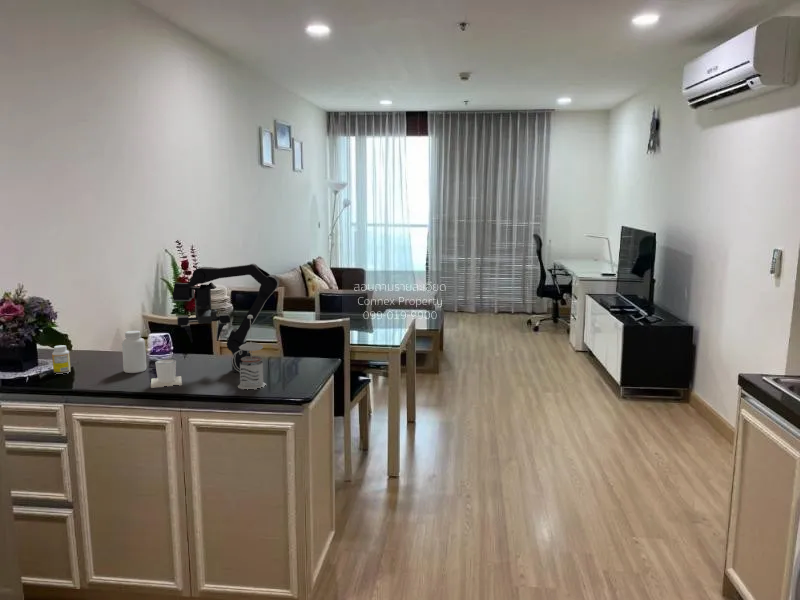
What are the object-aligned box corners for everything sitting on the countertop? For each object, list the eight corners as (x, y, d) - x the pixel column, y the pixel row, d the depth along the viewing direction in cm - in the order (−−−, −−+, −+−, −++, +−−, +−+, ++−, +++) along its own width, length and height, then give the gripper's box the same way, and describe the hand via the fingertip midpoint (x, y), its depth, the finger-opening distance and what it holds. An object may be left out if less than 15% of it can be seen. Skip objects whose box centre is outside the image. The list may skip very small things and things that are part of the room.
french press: (259, 390, 205) (257, 317, 201) (227, 388, 207) (225, 316, 203) (270, 382, 214) (269, 313, 211) (240, 380, 216) (238, 311, 213)
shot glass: (181, 379, 215) (180, 360, 214) (166, 384, 208) (165, 364, 207) (166, 377, 217) (165, 358, 216) (151, 381, 211) (150, 362, 210)
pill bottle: (118, 372, 226) (116, 332, 224) (135, 367, 234) (133, 329, 231) (134, 374, 223) (132, 334, 221) (151, 369, 231) (149, 330, 228)
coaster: (181, 377, 219) (181, 375, 219) (181, 385, 210) (181, 383, 210) (151, 380, 216) (151, 378, 216) (150, 387, 207) (150, 385, 206)
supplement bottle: (59, 371, 227) (57, 344, 226) (73, 371, 227) (72, 344, 225) (50, 374, 222) (48, 347, 220) (64, 375, 221) (62, 348, 220)
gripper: (176, 305, 215) (178, 348, 218) (231, 302, 222) (232, 344, 224) (176, 300, 226) (178, 341, 228) (228, 298, 232) (229, 338, 235)
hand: (204, 341), depth 228 cm, fingers open, 9 cm apart
